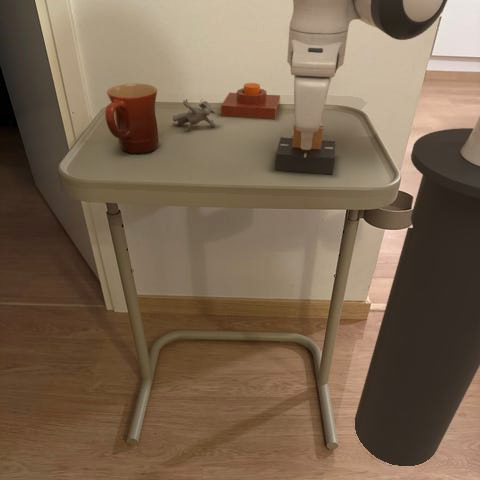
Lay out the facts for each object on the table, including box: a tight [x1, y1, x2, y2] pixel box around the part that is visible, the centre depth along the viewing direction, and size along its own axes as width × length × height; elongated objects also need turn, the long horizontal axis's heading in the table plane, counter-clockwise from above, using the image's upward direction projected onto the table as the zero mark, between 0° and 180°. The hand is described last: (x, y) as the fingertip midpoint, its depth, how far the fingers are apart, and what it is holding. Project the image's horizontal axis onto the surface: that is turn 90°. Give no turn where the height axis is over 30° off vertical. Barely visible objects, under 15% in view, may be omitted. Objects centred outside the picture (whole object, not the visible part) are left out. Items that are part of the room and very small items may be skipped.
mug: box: [104, 83, 159, 155], centre depth 84 cm, size 12×9×10 cm
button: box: [243, 82, 261, 94], centre depth 103 cm, size 4×4×2 cm
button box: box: [220, 87, 281, 120], centre depth 105 cm, size 12×10×4 cm
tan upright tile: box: [292, 123, 324, 149], centre depth 80 cm, size 5×2×4 cm, turn 80°
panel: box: [274, 136, 336, 176], centre depth 83 cm, size 10×9×3 cm
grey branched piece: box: [172, 97, 217, 132], centre depth 95 cm, size 10×6×9 cm
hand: (307, 140), depth 81 cm, fingers open, 6 cm apart
